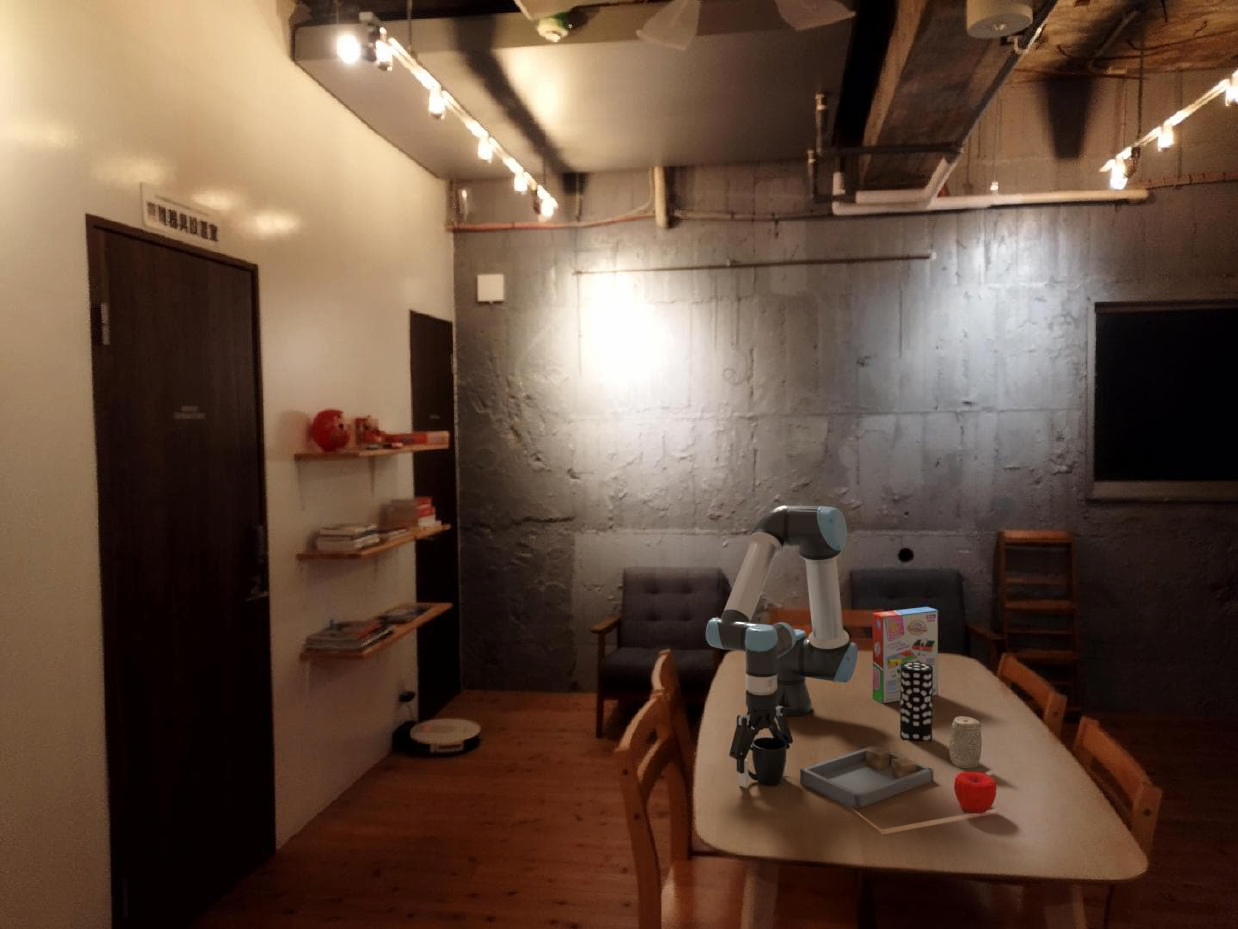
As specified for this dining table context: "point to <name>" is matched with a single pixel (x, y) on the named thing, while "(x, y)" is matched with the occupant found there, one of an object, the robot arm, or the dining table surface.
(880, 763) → the walnut block
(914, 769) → the walnut block
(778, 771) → the mug
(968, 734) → the carving
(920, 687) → the spotted tube
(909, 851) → the dining table surface
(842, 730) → the dining table surface
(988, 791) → the apple
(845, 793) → the tray
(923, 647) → the game box
